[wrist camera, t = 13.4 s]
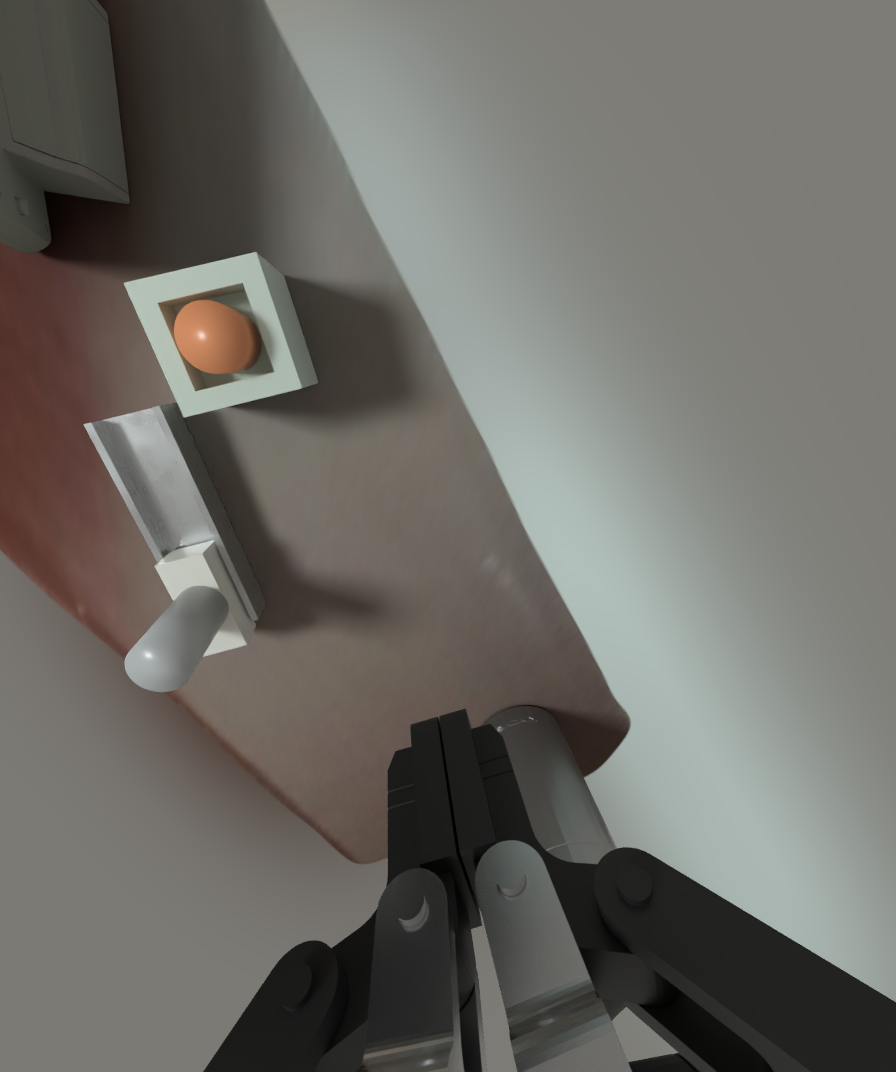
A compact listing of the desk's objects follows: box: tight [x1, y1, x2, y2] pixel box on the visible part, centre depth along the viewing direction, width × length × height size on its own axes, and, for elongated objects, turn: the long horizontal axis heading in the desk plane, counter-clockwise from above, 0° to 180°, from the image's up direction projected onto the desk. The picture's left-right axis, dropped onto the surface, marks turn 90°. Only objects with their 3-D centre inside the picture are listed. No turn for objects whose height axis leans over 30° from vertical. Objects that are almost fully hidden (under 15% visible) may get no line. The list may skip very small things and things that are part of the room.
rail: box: [84, 402, 267, 621], centre depth 34 cm, size 17×5×3 cm, turn 13°
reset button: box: [174, 300, 261, 374], centre depth 25 cm, size 4×4×3 cm
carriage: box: [125, 540, 256, 692], centre depth 31 cm, size 8×4×10 cm, turn 13°
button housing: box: [124, 252, 319, 417], centre depth 28 cm, size 7×7×7 cm
